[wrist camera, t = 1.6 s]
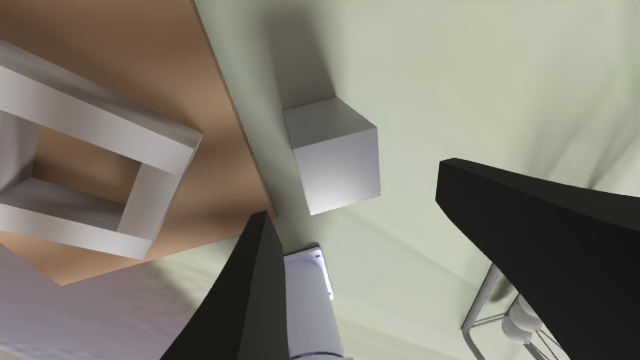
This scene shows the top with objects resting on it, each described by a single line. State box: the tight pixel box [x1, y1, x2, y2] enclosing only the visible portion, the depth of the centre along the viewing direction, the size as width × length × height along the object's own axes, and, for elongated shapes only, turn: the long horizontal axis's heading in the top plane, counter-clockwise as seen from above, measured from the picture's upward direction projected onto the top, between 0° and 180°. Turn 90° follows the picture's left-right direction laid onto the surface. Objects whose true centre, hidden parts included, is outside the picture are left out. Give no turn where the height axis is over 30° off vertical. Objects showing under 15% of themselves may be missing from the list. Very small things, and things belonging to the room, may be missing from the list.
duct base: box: [0, 0, 278, 286], centre depth 14 cm, size 18×18×4 cm
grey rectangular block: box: [282, 97, 381, 215], centre depth 14 cm, size 4×4×7 cm
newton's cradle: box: [462, 263, 565, 360], centre depth 29 cm, size 30×10×18 cm, turn 5°
